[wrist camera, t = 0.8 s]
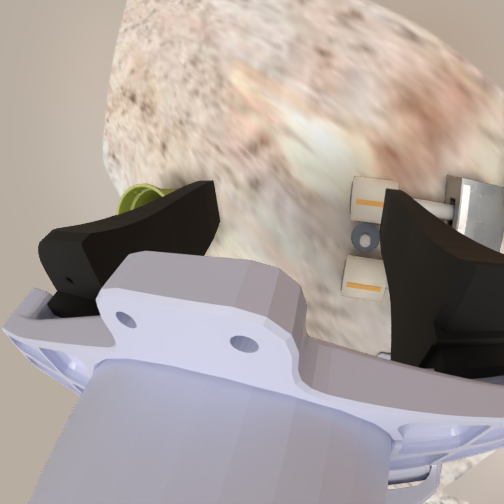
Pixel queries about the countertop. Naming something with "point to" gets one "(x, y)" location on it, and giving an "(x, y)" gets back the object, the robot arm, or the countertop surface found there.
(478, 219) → the panel
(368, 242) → the potentiometer
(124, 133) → the countertop surface
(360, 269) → the knob
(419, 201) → the knob
